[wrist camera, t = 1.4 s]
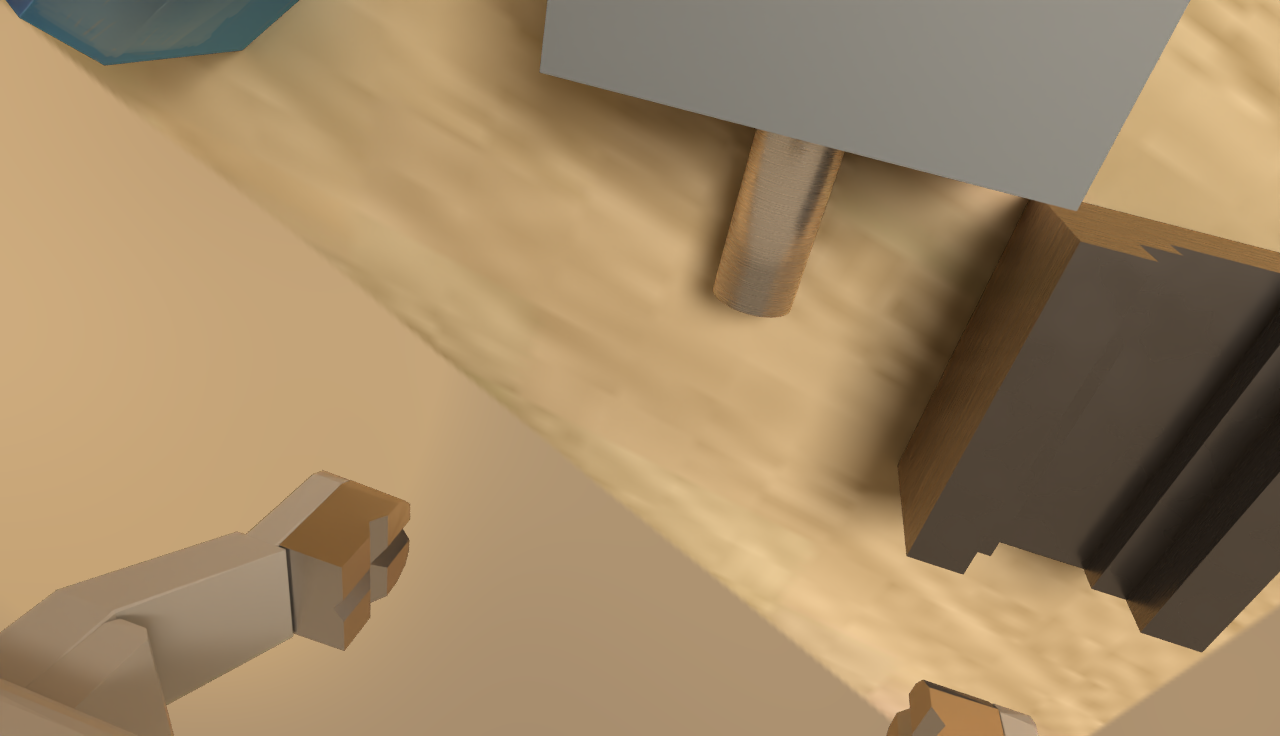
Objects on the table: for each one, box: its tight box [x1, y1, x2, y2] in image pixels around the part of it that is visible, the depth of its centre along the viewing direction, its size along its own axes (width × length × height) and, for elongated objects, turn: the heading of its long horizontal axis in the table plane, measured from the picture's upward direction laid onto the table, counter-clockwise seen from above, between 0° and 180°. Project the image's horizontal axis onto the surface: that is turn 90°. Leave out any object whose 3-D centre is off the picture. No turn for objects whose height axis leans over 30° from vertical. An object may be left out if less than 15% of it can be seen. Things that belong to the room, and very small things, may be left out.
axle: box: [713, 129, 845, 317], centre depth 23 cm, size 12×3×3 cm, turn 169°
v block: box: [898, 199, 1280, 652], centre depth 24 cm, size 12×10×6 cm
